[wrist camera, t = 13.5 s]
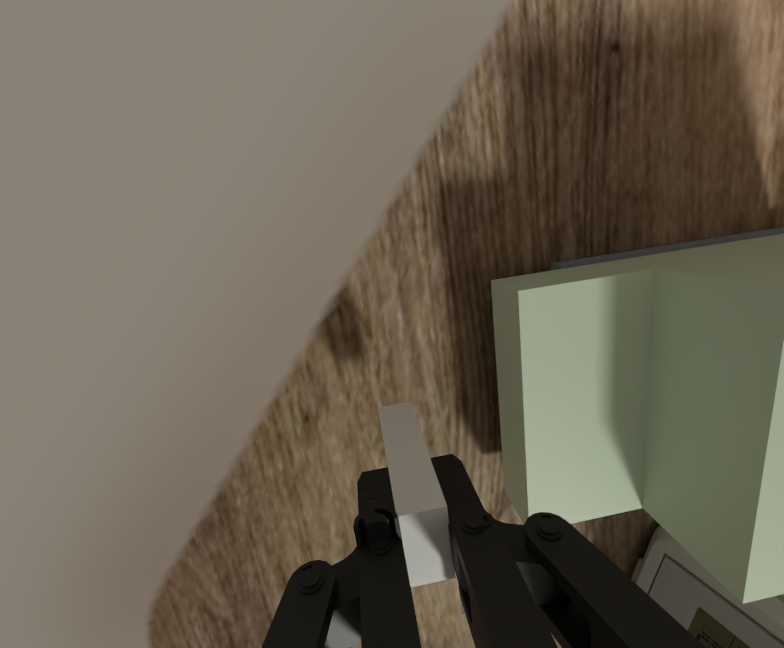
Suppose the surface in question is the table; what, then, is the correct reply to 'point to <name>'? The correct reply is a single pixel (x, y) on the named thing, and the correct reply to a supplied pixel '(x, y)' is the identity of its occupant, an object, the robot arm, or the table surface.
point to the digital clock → (706, 599)
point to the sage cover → (653, 399)
